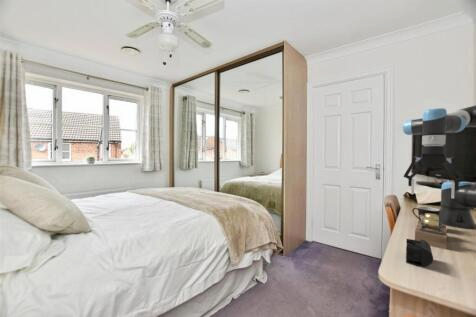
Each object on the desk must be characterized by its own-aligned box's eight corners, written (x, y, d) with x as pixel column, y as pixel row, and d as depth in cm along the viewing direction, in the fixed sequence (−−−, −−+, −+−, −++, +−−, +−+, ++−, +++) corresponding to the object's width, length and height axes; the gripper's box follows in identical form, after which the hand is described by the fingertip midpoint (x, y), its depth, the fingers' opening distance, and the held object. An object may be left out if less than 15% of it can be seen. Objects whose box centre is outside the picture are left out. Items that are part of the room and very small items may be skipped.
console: (418, 230, 111) (418, 218, 111) (445, 235, 104) (446, 222, 104) (414, 242, 96) (415, 228, 96) (446, 249, 90) (446, 234, 89)
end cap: (432, 270, 74) (433, 250, 73) (406, 263, 78) (406, 244, 78) (430, 259, 81) (431, 240, 81) (406, 253, 86) (406, 236, 86)
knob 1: (424, 217, 108) (425, 212, 108) (438, 219, 104) (439, 214, 104) (424, 219, 104) (424, 214, 104) (438, 222, 101) (439, 217, 101)
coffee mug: (443, 231, 110) (444, 211, 110) (423, 230, 112) (423, 210, 112) (428, 223, 122) (428, 205, 121) (410, 222, 123) (410, 204, 123)
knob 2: (423, 222, 100) (423, 217, 100) (438, 225, 96) (439, 219, 96) (423, 225, 96) (423, 220, 96) (438, 228, 93) (438, 222, 92)
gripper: (397, 145, 100) (395, 193, 101) (476, 145, 84) (474, 201, 85) (399, 146, 106) (398, 191, 107) (474, 145, 89) (471, 198, 90)
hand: (431, 195), depth 96 cm, fingers open, 12 cm apart
